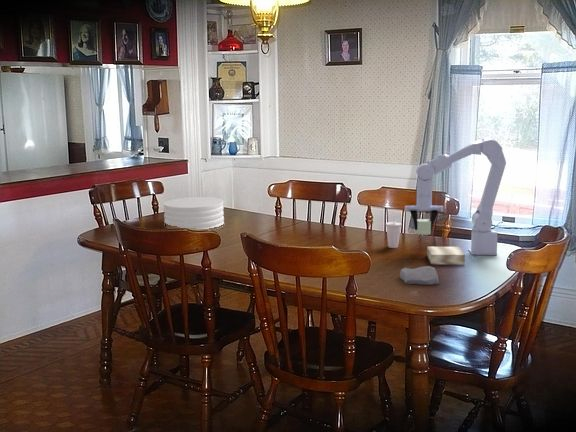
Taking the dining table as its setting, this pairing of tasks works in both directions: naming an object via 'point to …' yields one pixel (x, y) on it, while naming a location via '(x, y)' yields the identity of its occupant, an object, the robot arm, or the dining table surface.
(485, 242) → the robot arm
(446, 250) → the beige panel
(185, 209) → the plate stack
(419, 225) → the green block
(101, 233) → the dining table surface
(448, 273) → the dining table surface
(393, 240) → the smoothie
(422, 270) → the stone block
